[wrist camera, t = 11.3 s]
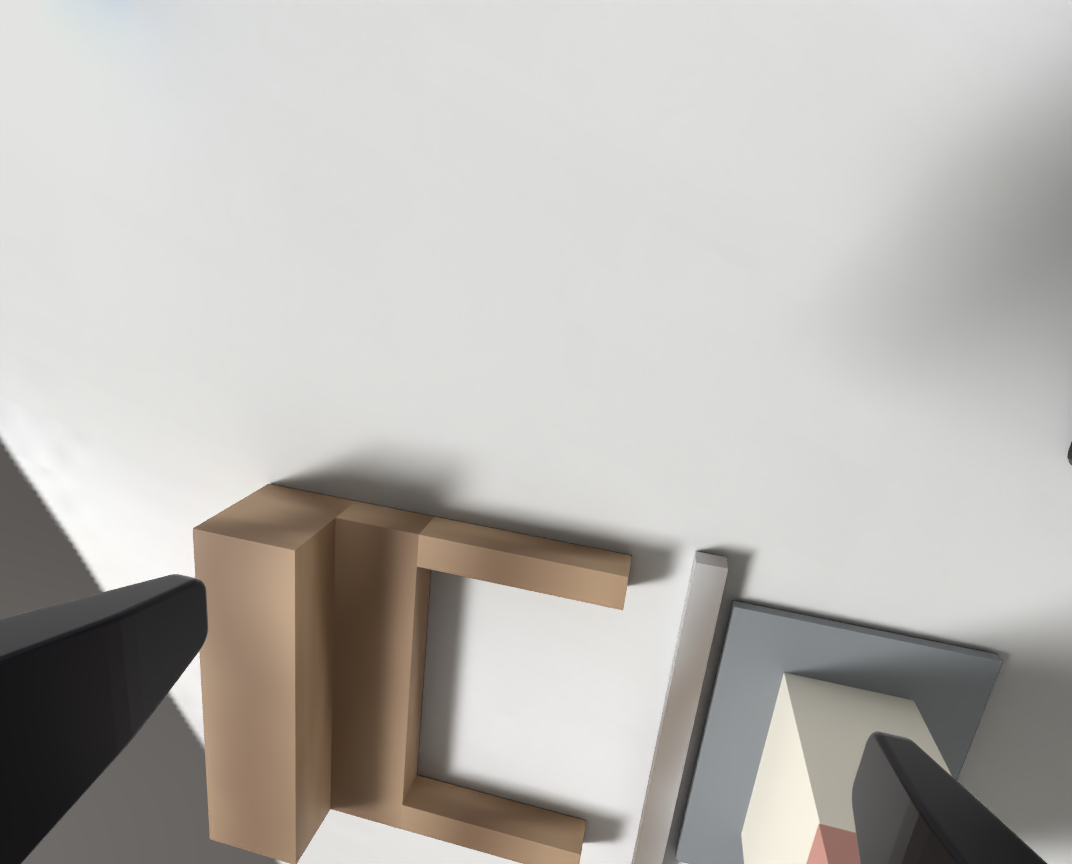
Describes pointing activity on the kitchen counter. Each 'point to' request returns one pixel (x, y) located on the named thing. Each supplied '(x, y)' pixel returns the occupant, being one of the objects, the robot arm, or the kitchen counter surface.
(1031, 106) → the kitchen counter surface
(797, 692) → the block
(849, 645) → the mat
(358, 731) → the cradle
